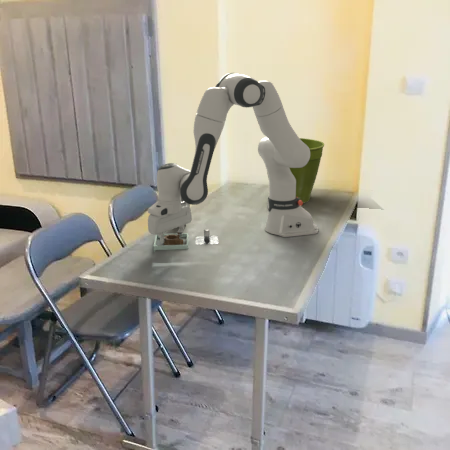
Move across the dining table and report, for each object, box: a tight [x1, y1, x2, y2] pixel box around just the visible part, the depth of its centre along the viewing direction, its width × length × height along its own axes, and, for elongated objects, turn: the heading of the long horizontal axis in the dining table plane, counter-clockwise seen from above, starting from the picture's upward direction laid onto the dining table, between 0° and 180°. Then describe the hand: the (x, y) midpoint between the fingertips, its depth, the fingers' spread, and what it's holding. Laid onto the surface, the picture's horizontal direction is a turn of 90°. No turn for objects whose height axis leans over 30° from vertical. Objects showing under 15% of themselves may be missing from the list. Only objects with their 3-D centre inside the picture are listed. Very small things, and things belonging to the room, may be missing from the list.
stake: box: [195, 228, 219, 246], centre depth 209 cm, size 9×9×5 cm
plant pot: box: [266, 137, 325, 204], centre depth 259 cm, size 30×30×29 cm
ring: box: [163, 233, 185, 245], centre depth 206 cm, size 9×6×3 cm
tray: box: [153, 232, 190, 253], centre depth 207 cm, size 13×13×2 cm
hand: (171, 239), depth 207 cm, fingers open, 8 cm apart
